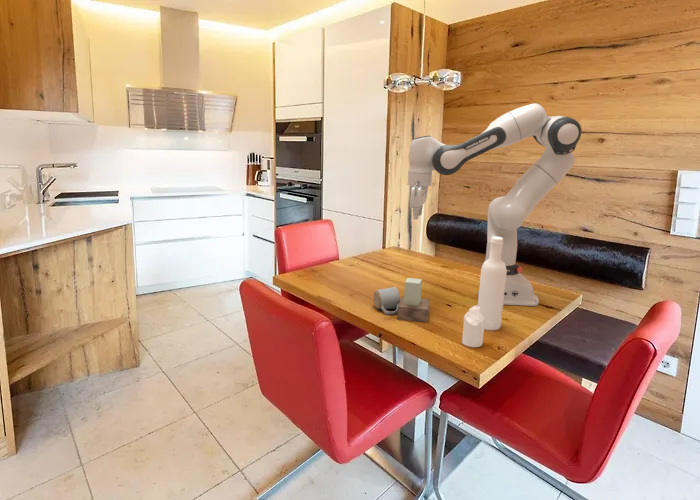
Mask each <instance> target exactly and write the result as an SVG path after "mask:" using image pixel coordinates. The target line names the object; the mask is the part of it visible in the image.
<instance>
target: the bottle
mask: <svg viewBox="0 0 700 500" xmlns="http://www.w3.org/2000/svg"><path fill="white" fill-rule="evenodd" d="M490 243H491V245H490V255H489V259H487V260H486V259H485V260H486V261H485V260H484V261H485V262H484V261H483V263H482V266H481V269H480V278H479V279H480V280H479V288H478V289H479V290H478V292H479V295H478V301H477V306H478V307H479V308H480V309H481V314H482V316H483V318H484V320H485V321H484V331H485V330H486V331H498V330H500V329H501V326H502V320H503V319H502V314H503V310H504V309H503V307H504V304H503V300H504V291H505V282H506V273H507V269H506V265H505V263H504V262H503V261H502V260H501V255H502V246H503V238H502V237H492V238H491V241H490Z"/></svg>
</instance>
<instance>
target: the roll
mask: <svg viewBox="0 0 700 500" xmlns="http://www.w3.org/2000/svg"><path fill="white" fill-rule="evenodd" d="M484 321H485V320H484V318H483V316H482V314H481V309H480V308H479V307H478V304H477V305H474V306H471V307H470V308H469V309H468V311H467V312H466V313H465V314H464V317H463V326H462V327H463V328H462V337H461V338H462V339H461V343H462V344H463V345H464V346H466V347H469V348H479V347H480V348H481V347H482V346H483V341H484V340H483V339H484V334H485V333H484V331H485V329H484Z"/></svg>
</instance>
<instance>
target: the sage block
mask: <svg viewBox="0 0 700 500" xmlns="http://www.w3.org/2000/svg"><path fill="white" fill-rule="evenodd" d="M422 285H423V279H421V278H414V277H407V278H406V280H405V281H404V296H403V297H404V304H406V305H414V306H419V304H420V302H421V299H422V289H423V288H422V287H423V286H422Z"/></svg>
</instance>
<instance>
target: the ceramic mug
mask: <svg viewBox="0 0 700 500" xmlns="http://www.w3.org/2000/svg"><path fill="white" fill-rule="evenodd" d="M400 299H401V295H400V292H399V289H398V288H397V287H396V286H392V287H386V288H379V289H376V290H375V291H374V292H373V302H374V307H375V308H376V309H377V310H381V311H382V312H383V313H384V314H386V315H389V316H393V315H396V314H398V305H399V302H400ZM392 309H395V310H394V311H391V310H392ZM389 310H390V311H389Z"/></svg>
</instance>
